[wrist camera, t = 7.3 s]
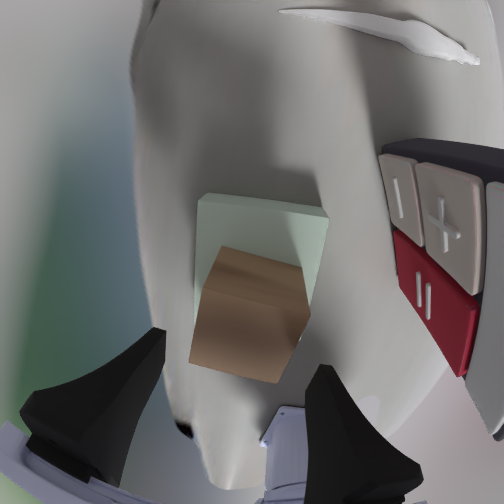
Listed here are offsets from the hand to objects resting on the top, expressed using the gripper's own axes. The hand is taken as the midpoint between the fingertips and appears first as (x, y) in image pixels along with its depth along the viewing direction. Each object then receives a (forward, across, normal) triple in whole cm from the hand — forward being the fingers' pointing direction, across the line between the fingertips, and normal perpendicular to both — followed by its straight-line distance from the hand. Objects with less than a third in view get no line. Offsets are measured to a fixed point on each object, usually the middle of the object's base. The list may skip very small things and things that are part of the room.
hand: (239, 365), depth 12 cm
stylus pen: (+9, -5, -20) cm, 22 cm away
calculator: (+9, -10, -7) cm, 15 cm away
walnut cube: (+6, 0, 0) cm, 6 cm away
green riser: (+9, 0, -1) cm, 9 cm away
